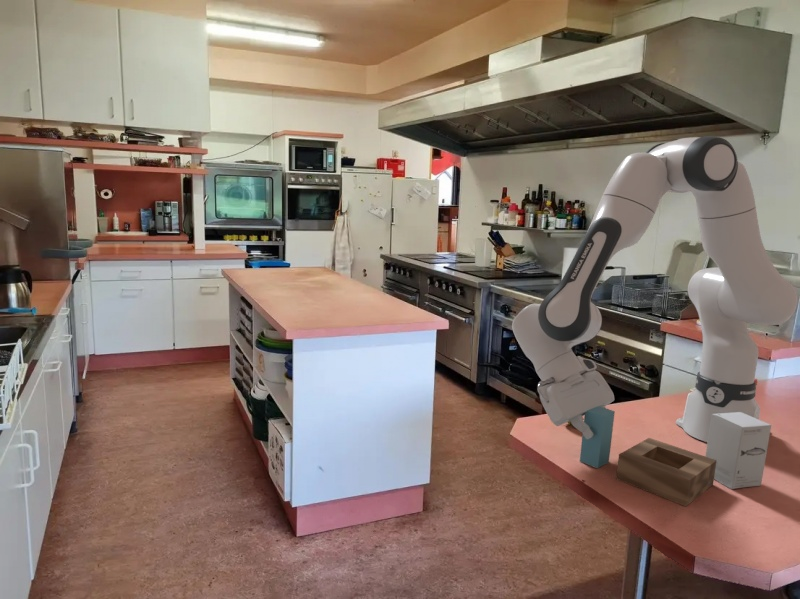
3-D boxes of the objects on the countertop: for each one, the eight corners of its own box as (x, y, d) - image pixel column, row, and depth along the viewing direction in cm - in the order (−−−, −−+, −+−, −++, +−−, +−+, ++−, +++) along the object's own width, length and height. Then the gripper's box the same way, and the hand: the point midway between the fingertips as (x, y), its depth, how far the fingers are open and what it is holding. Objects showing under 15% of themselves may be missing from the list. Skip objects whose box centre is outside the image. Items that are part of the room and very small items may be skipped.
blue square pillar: (590, 455, 121) (596, 405, 119) (608, 462, 118) (614, 411, 116) (579, 461, 118) (585, 410, 116) (597, 468, 115) (603, 416, 113)
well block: (646, 460, 120) (649, 437, 119) (713, 484, 110) (716, 460, 109) (616, 478, 111) (619, 454, 110) (685, 506, 102) (689, 480, 101)
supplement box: (732, 490, 108) (742, 427, 106) (701, 472, 115) (710, 412, 113) (762, 486, 111) (773, 424, 108) (730, 469, 118) (740, 410, 115)
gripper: (544, 375, 113) (585, 438, 107) (597, 359, 127) (635, 415, 121) (523, 391, 117) (561, 453, 111) (577, 373, 131) (613, 428, 125)
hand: (600, 433), depth 116 cm, fingers open, 5 cm apart
